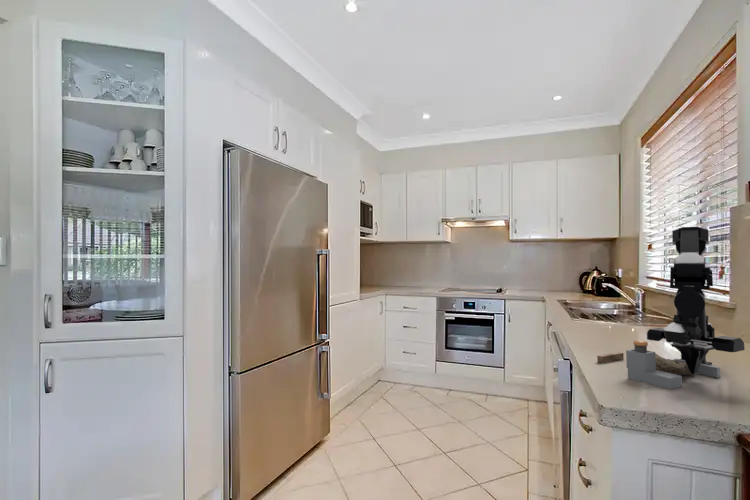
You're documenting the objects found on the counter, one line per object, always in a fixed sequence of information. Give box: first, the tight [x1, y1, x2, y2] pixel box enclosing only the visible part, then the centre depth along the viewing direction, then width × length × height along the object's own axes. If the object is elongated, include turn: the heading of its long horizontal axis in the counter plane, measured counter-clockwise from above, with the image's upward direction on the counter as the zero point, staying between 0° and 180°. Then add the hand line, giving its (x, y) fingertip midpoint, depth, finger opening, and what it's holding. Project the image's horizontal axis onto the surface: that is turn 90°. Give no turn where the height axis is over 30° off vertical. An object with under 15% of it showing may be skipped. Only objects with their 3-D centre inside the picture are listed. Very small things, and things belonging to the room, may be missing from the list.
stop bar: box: [596, 351, 625, 364], centre depth 118 cm, size 10×1×2 cm, turn 116°
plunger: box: [633, 340, 648, 353], centre depth 100 cm, size 3×3×6 cm
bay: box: [625, 348, 721, 390], centre depth 101 cm, size 22×10×7 cm, turn 115°
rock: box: [655, 353, 696, 377], centre depth 105 cm, size 11×12×4 cm
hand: (693, 373), depth 99 cm, fingers closed
